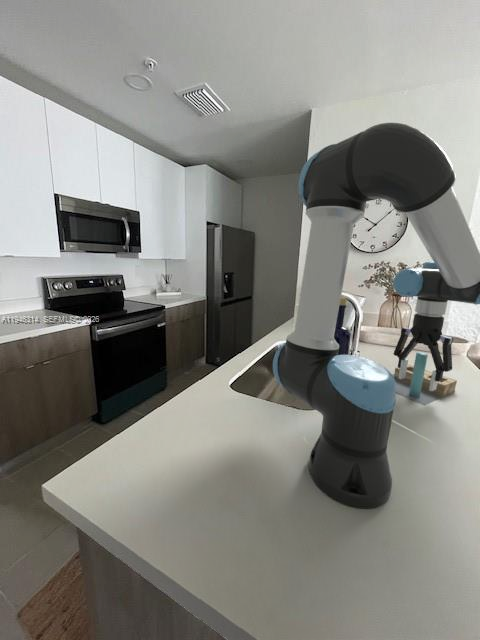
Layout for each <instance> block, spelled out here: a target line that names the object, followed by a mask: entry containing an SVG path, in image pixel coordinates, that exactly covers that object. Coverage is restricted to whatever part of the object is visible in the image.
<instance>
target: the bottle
mask: <svg viewBox="0 0 480 640" xmlns="http://www.w3.org/2000/svg"><path fill="white" fill-rule="evenodd" d="M346 309H347V297H342V296H341V299H340V305H339V310H338V316H337V321H336V327H335V332H334V339H335V340H336V342H337V343H338V344H339V351H338V355H350V349H351V342H352V332H351V331H350V329H349V328H348V327H346V326H344V322H345V321H344V320H345V314H346Z"/></svg>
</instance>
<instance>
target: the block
mask: <svg viewBox="0 0 480 640" xmlns="http://www.w3.org/2000/svg"><path fill="white" fill-rule="evenodd" d="M413 369H414V365H413V364H412V365H411V364H409V363H408V364H407V370H406V376H405V378H403V379H399V378H398V377H399V371H400V368H398V366H396V367H395V368H394V373H393V374H394V378H395V379H398V380H400V381H403V382H406V383H408V384H411V380H412V374H413ZM432 372H433V371H429V370H428V369H427V370H426V369H425V372H424V378H423V383H422V388H421V389H423V390H426V391H428V392H431V393H434V394H436V395H439V396H441V397H442V398H444V397H447V396H449V395H451V394H453V393H455V392H456V386H457V381H458V380H456V379H454V378H451V377H448V376H445V375H443V376H442V380H441V381H439V382H438V383H437V388H436V390H434V391H430V390H429V387H430V382H431V377H432ZM450 393H451V394H450ZM448 394H449V395H448Z"/></svg>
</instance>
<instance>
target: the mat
mask: <svg viewBox="0 0 480 640" xmlns="http://www.w3.org/2000/svg"><path fill="white" fill-rule="evenodd" d="M392 375H393V377H394V373H392ZM394 380H395V382H396V395H399V396H402V397H404V398H407V399H408V400H411V401H412V402H415V403H417V404H420V405H423V406H426V405H427V406H428V405H429V404H431V403H433V402H435V401H437V400H440V399H441V398H443V397H441V396H439V395H436V394H434V393H431V392H428V391H426V390H423V389H421V393H420V397H413V396H411V395H409V391H410V385H411V384H408V383H406V382H403V381H400V380H398V379H395V378H394ZM451 394H452V393H450V394H448V395H447V396H449V395H451Z"/></svg>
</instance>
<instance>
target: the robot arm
mask: <svg viewBox="0 0 480 640" xmlns="http://www.w3.org/2000/svg"><path fill="white" fill-rule="evenodd" d="M456 179H457V176H456V172H455V170H454V167H453V164H452V162H451V159H450V158H449V157H448V155H447V154H446V152H445V151H444V150H443V148H442V147H441V146H440V145H439V144H438V143H437V142H436V141H435V140H434V139H432V138H431V137H430V136H429V135H428V134H426V133H424V132H422V131H421V130H420V129H417V128H416V127H413V126H410V125H409V124H404V123H399V122H383V123H379V124H375V125H372V126H370V127H367V128H366V129H365V130H363V131H360V132H358V133H357V134H354V135H351V136H350V137H348V138H345V139H343V140H341V141H339V142H337V143H333V144H330V145H327V146H325V147H323V148H321V149H320V150H319V151H317V152H316V153H314V154H312V156H311V157H309V158H308V159H307V161H306V162H305V163H304V165H303V166H302V169H301V172H300V176H299V180H298V193H299V196H301V202H302V203H303V205H304V206H305V207H306V209H305V215H306V216H307V218H308V219H309V220H310V222H311V223H310V230H309V235H308V236H309V237H308V241H307V249H306V255H305V261H304V262H305V263H304V268H303V272H302V273H303V274H302V281H301V287H300V294H299V298H298V306H297V313H296V319H295V325H294V330H293V332H291V333H290V334H288V335H287V336H286V339H285V342H284V343H282V344H281V345H280V346H279V349H277V350H276V351H275V353H274V357H273V360H272V372H273V375H274V379H275V380H276V382H277V383H278V384H279V385H280V386H281V387H282V388H284V389H285V391H286V392H287V393H289V394H291V395H294V396H295V397H296V398H298V400H299V399H300V400H301V401H302V402H304V404H307V405H308V406H310V407H311V408H312V409H314V410H316V411H317V412H318V413H319V414H321V416H322V422H321V423H322V424H321V425H322V426H321V432H320V434H319V436H318V438H317V439H316V442H315V444H314V446H313V447H312V450H311V452H310V453H309V454H310V455H309V460H308V461H309V463H308V471H309V475H310V476H311V479H312V481H313V482H314V484H315V485H316V486H317V487H318V488H319V490H321V491H322V492H323V493H324V494H325V495H327V496H328V497H330V498H331V499H333V500H334V501H336V502H338V503H341V504H343V505H346V506H349V507H352V508H357V509H373V508H374V509H375V508H377V507H380V506H382V505H384V504H386V502H387V501H388V500H389V499H390V496H391V493H392V492H391V490H392V486H393V478H392V477H393V476H392V474H391V470H390V465H389V464H390V463H389V459H388V454H387V448H388V444H389V443H388V442H389V438H390V433H391V432H390V431H391V426H392V421H393V416H394V410H395V407H396V405H397V404H396V402H397V397H396V396H397V393H396V382H395V380H394V377H393V373H391V372H390V371H389V370H388V369H387V368H386V367H385V366H383V365H382V364H380V363H378V362H376V361H374V360H371V359H369V358H366V357H364V356H363V357H362V356H361V357H359V356H357V355H354V354H349V355H338V351H339V344H338V343H337V342H336V340H335V339H334V332H335V327H336V321H337V316H338V310H339V305H340V299H341V297H342V293H343V288H344V283H345V276H346V271H347V267H348V266H347V265H348V260H349V255H350V249H351V243H352V238H353V233H354V228H355V224H357V223H358V222H359V221H360V220H362V219H363V218H364V216H365V211H366V205H367V202H370V201H375V200H385V201H386V202H387V201H388V202H389V203H391V205H392V207H393V209H394V210H395V211H397V212H398V213H400V214H405V216H406V217H407V219H408V220H409V222H410V224H411V227H413V229H414V231H415V232H416V235H417V236H418V237H419V239H420V241H421V242H422V245H423V246H424V248H425V249H426V251H427V253H428V254H429V256H430V258H431V260H432V261H425V262H424V263H423V265H422V266H421V267H422V268H415V267H414V268H413V267H409V268H404V269H401V270H400V271H398V272H397V273H396V274H395V276H394V277H393V282H392V287H393V289H394V291H395V292H396V294H398V295H399V296H402V297H406V298H408V297H409V298H414V297H416V303H415V308H414V312H415V313H414V314H413V320H412V321H413V322H412V327H402V328H401V329H400V337H399V339H398V342H397V344H396V346H395V349H394V350H393V351H394V352H393V356H395V357H397V358H398V362H397V367H398V368H400V371H399V377H398V378H399V379H403V378H405V376H406V370H407V364H409V359H408V356H409V355H410V353H411V352H412V351H413V350H414V348H415V347H416V346H417V345H418V344H420V345H421V344H422V345H424V346H427V347H428V349H429V351H430V354H431V358H432V360H433V364H434V367H435V369H433V370H432V371H431V372H432V377H431V382H430V387H429V390H430V391H434V390H436V388H437V383H438V382H439V381H441V380H442V376H444V372H445V373H446V372H450V371H452V370H453V357H452V356H453V355H452V353H453V352H452V344H453V342H454V337H452V336H446V335H443V331H442V330H443V328H444V323H445V321H444V320H445V317H444V316H445V315H446V311H447V306H448V301H449V302H450V301H451V302H456V303H457V302H458V303H464V304H471V305H476V306H477V305H480V250H479V249H478V246H477V243H476V241H475V239H474V237H473V234H472V232H471V229H470V227H469V224H468V221H467V220H466V217H465V215H464V212H463V209H462V208H461V206H460V203H459V201H458V198H457V195H456V193H455V191H454V188H453V186H454V185H455V182H456ZM410 334H411V335H412V338H411V339H410V341H409V342H408V344H407V345H406V343H407V340H408V338H409V336H410ZM440 340H441V343H442V355H441V352H440V350H439V349H440V348H439V343H438V341H440ZM405 345H406V347H405ZM404 347H405V348H404Z"/></svg>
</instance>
